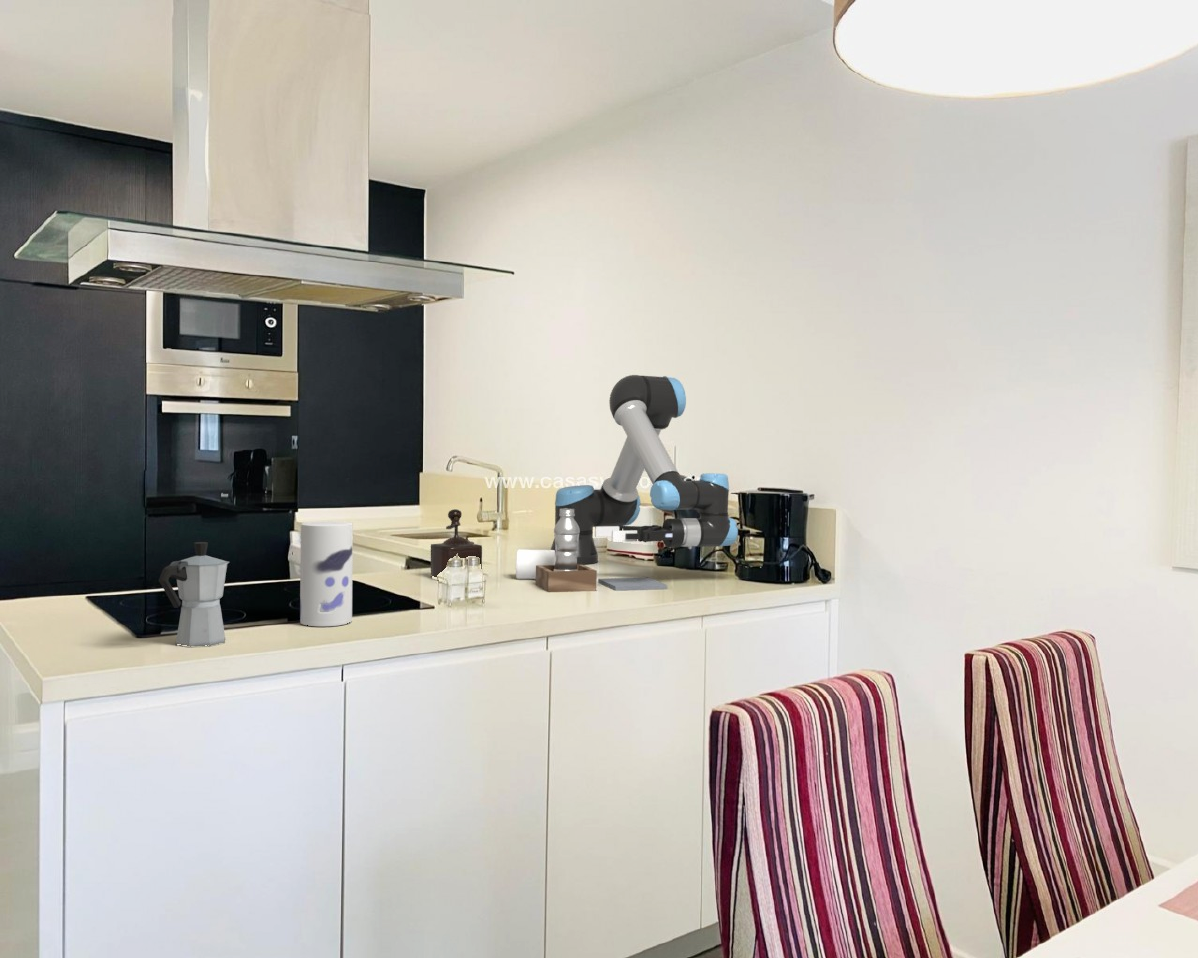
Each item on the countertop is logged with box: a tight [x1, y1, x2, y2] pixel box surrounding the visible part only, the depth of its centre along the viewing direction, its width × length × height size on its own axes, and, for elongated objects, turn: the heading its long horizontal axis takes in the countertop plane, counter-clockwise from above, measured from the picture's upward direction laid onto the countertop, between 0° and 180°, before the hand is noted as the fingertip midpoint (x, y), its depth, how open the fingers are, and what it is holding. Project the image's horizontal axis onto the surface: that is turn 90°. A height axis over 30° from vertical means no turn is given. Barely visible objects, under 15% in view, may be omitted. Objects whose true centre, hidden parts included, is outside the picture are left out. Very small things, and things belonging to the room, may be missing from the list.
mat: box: [597, 576, 668, 591], centre depth 251 cm, size 14×14×1 cm
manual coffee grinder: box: [430, 508, 483, 577], centre depth 259 cm, size 16×11×18 cm
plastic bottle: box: [553, 509, 580, 571], centre depth 245 cm, size 6×7×20 cm
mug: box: [515, 548, 555, 581], centre depth 262 cm, size 12×10×8 cm
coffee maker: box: [158, 541, 230, 647], centre depth 172 cm, size 15×9×18 cm, turn 154°
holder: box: [535, 564, 598, 593], centre depth 246 cm, size 12×12×5 cm
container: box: [299, 520, 354, 627], centre depth 194 cm, size 10×10×20 cm
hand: (603, 533), depth 248 cm, fingers open, 13 cm apart
